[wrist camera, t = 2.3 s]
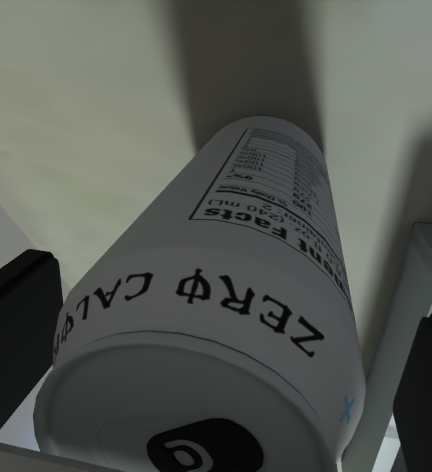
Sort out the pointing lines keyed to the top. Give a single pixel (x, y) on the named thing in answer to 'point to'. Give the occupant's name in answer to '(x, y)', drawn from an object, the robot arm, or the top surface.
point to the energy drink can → (214, 323)
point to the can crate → (393, 361)
